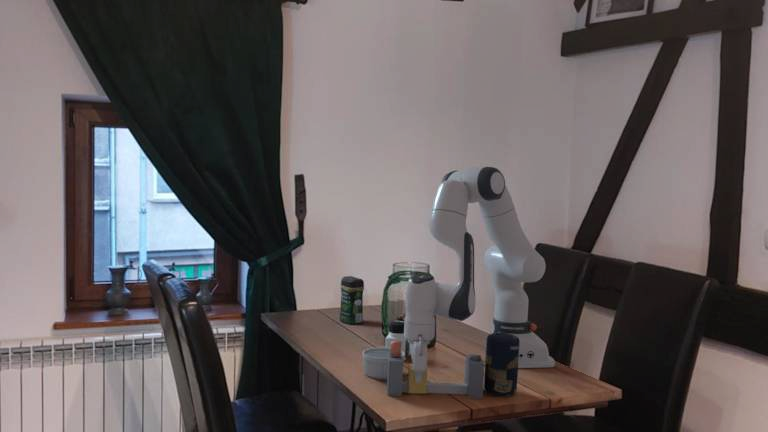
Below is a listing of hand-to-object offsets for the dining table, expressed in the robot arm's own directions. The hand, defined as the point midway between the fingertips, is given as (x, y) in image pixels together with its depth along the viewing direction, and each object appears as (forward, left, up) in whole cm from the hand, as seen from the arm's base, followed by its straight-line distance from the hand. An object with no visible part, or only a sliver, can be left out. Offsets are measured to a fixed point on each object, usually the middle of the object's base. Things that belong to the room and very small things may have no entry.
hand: (417, 377), depth 205 cm
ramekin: (+9, -15, -4) cm, 18 cm away
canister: (-25, -1, -4) cm, 25 cm away
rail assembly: (-5, 0, -4) cm, 6 cm away
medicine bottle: (+4, -35, -4) cm, 36 cm away
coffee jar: (+21, -83, -4) cm, 86 cm away
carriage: (0, 0, -4) cm, 4 cm away
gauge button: (+7, 0, +6) cm, 9 cm away
